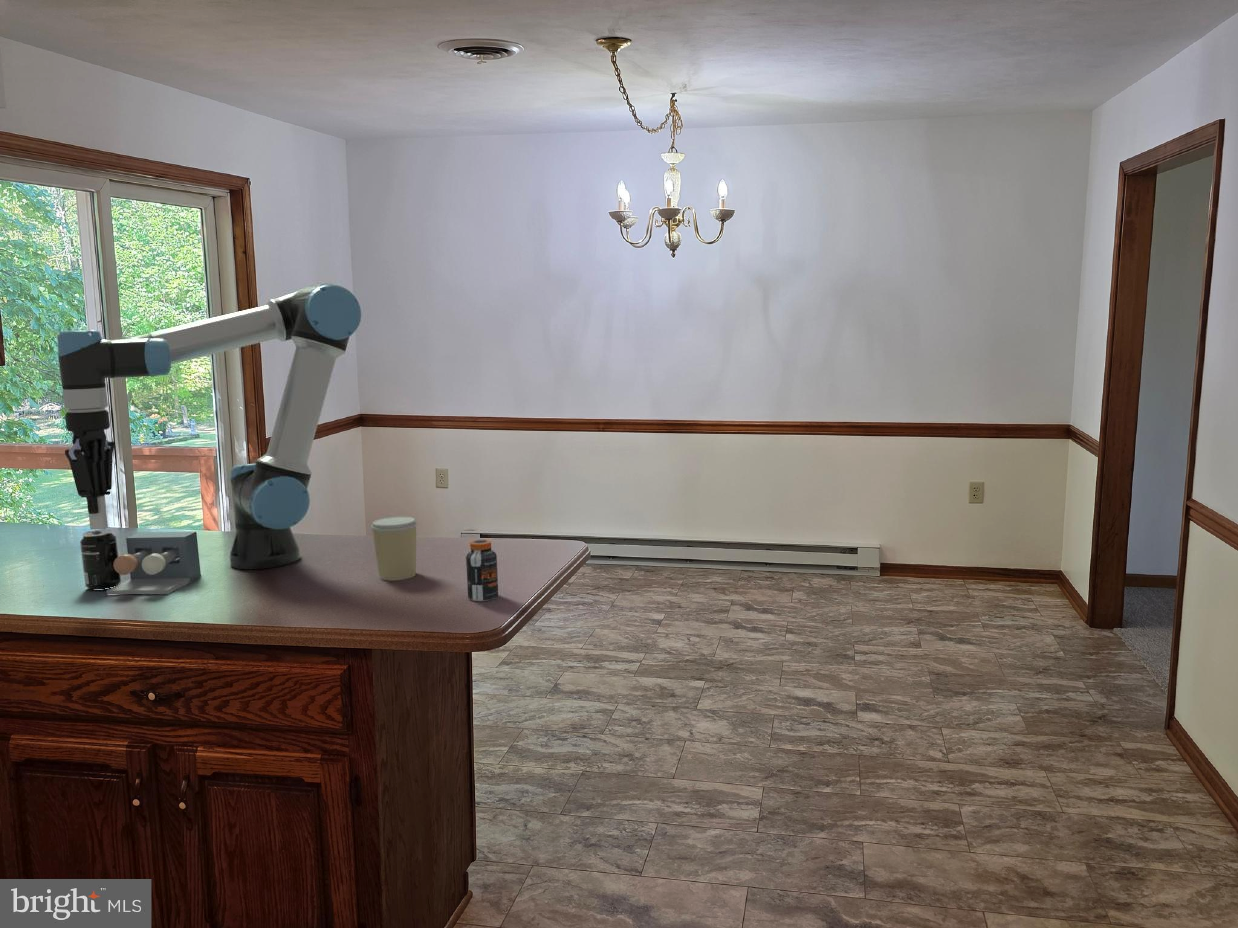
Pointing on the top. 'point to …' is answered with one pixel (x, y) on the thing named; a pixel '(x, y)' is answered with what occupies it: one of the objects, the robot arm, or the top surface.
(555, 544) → the top surface
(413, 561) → the coffee cup
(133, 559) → the tan flanged peg
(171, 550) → the knob ivory
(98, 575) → the beverage can
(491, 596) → the pill bottle
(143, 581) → the mount
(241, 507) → the robot arm
